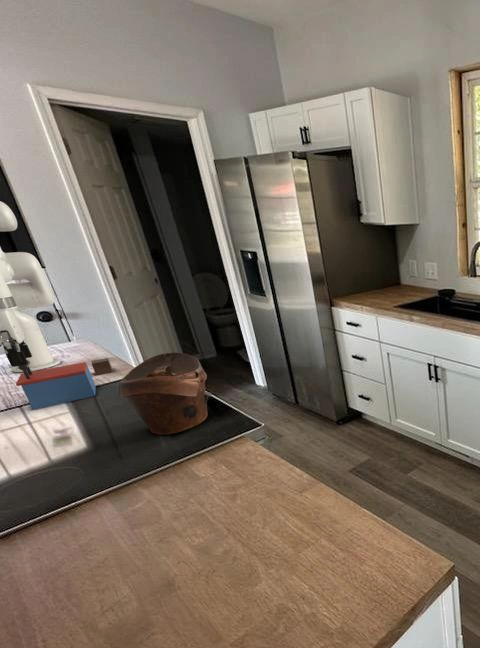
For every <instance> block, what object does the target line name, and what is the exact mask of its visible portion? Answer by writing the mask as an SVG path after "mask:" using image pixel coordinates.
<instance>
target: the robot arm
mask: <svg viewBox="0 0 480 648" xmlns="http://www.w3.org/2000/svg"><path fill="white" fill-rule="evenodd" d="M17 229H18V220H17V217H16V215H15V214H14V212H13V210H12V208H10V207H9V205H7V203H5V202H3V201H0V232H13V231H16V230H17ZM22 280H26V281H24V282H23V281H22ZM11 281H22V282H11ZM10 282H11V283H10ZM54 303H55V295H54V292H53V290H52V288H51V286H50V283H49V281H48V279H47V277H46V274H45V272H44V269H43V268H42V265H41V264H40V262H39V260H38V259H37V257H36V256H35V255H33V254H32V253H30V252H25V251H16V252H14V251H13V252H4V251H3V249H2V247H1V246H0V348H1V347H3V351H4V353H5V356H6V359H7V360H8V362H9V365H10V366H11V367H12V368H11V370H12V372H13V373H24V372H23V370H20V369H19V368H18V366H22V365H27V364H28V362H27V360H28V361H30V364H29V367H30V369H31V372H33V371H39V370H44V369H50V368H53V367H56V366H58V365H59V364H61V359H60V358H53V355H52V352H51V351H50V348H49V346H48V344H47V342H46V340H45V337H44V335H43V333H42V330H41V328H40V326H39V324H38V322H37V320H36V319H35V318H34V317H33V316H31V315H30V314H27V313H25V312H23V310H28V309H29V310H30V309H37V308H43V307H49V306H52V305H54Z"/></svg>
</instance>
